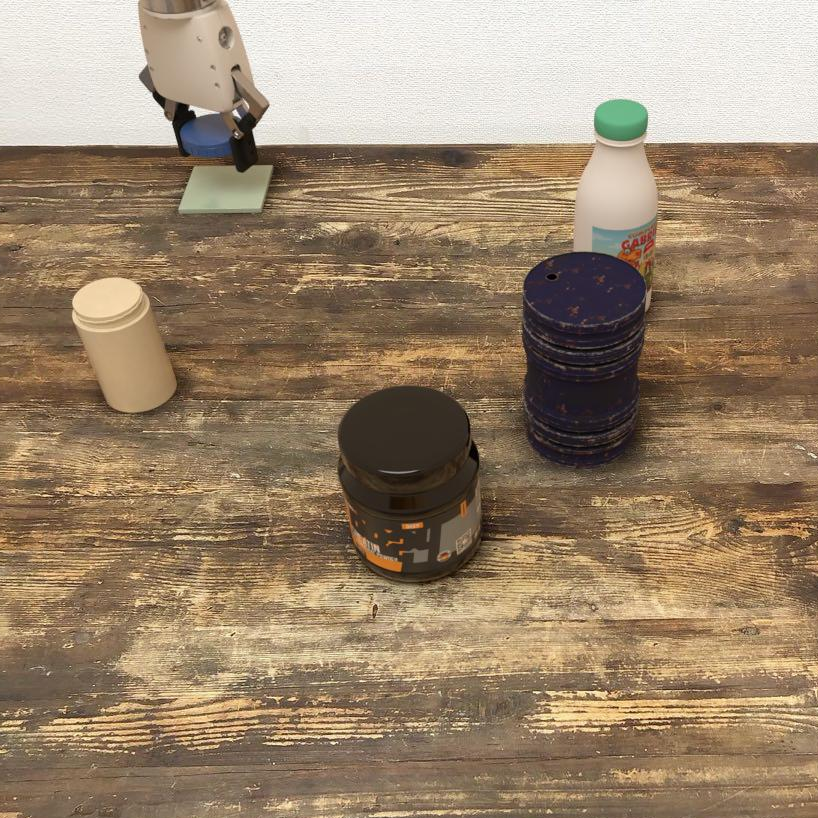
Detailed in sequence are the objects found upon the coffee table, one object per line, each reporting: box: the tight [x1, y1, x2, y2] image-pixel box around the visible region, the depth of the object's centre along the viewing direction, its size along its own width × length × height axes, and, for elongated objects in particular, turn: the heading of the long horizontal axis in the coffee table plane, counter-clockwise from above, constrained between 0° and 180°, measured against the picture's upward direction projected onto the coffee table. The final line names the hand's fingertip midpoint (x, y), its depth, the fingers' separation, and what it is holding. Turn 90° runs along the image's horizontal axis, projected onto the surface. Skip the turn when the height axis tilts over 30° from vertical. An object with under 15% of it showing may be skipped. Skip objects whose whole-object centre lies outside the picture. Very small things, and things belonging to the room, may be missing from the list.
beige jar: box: [71, 277, 178, 414], centre depth 94 cm, size 6×6×10 cm
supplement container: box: [336, 384, 484, 583], centre depth 81 cm, size 10×10×12 cm
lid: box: [180, 112, 241, 159], centre depth 115 cm, size 7×7×2 cm
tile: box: [177, 164, 275, 215], centre depth 120 cm, size 9×9×1 cm
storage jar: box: [521, 251, 647, 469], centre depth 88 cm, size 10×10×15 cm
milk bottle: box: [572, 98, 659, 312], centre depth 98 cm, size 8×8×20 cm
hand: (219, 157), depth 117 cm, fingers closed on lid, 6 cm apart
